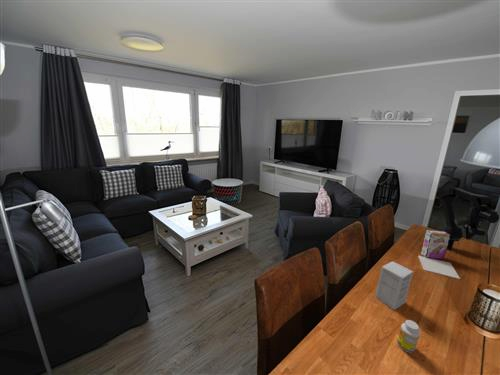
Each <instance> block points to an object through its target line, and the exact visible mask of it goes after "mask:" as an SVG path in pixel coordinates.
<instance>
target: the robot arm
mask: <svg viewBox="0 0 500 375" xmlns="http://www.w3.org/2000/svg"><path fill="white" fill-rule="evenodd" d="M457 197H460V198H464V199H466V200H468V201H469V203H471V204H468V206H469V207H470V210H469V214H467V215H466V216H465V217H456V215H455V211H454V206H453V205H454V202H455V200H456V198H457ZM437 198H438V201H439V203H440V204H441V205H442V207H443V213H444V219H445V223H446V227H445V228H444V232H446V233H448V234H450V238H449V242H448V246H447V250H449V251H455V249H454V244H455V242H459V241H460V240H461V239H462V238H463V229H464V230H465V239H466V240H470V239H472V238H473V237H474V236H482V237H486V235H487V232H486V231H485V230H484V229H482V228H481V227H482V226H481V222H483V221H485V222H488V223H490V224H495V223H498V221H499V220H500V215H499V214H498V211H496V210H494V206H493V202H492V200H491V197H490V196H488V195H483V194H477V193H476V194H475V193H472V192H469V191H468V190H464V189H462V188H459V187H451V188H449V189H446V190H443V191H441V192H439V193H438V194H437ZM458 226H459V227H458ZM460 226H462V228H463V229H462V228H461V227H460Z"/></svg>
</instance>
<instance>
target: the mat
mask: <svg viewBox="0 0 500 375" xmlns="http://www.w3.org/2000/svg"><path fill="white" fill-rule="evenodd" d="M417 257H418V259H419V261H420V264H421V266H422V269H423V270H424V271H426V272H428V273H429V272H430V273H433V274H438V275H441V276H445V277H450V278H453V279H457V280H461V277H460V276H459V274H458V273H457V271H456V270H455V267H454V265H452V263H451V262H448V261H444V260H441V259H439V260H438V259H436V258H426V257H424V256H423V255H418V256H417Z"/></svg>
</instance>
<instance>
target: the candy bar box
mask: <svg viewBox="0 0 500 375" xmlns="http://www.w3.org/2000/svg"><path fill="white" fill-rule="evenodd" d="M449 238H450V234H448V233H446V232H445V231H439V230H428V229H426V231H425V235H424V239H423V243H422V248H421V252H420V253H421V256H422V257H426V258H431V259H436V260H438V259H439V260H445V258H446V253H447V250H448V249H447V246H448V242H449Z"/></svg>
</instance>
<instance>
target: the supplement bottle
mask: <svg viewBox="0 0 500 375" xmlns="http://www.w3.org/2000/svg"><path fill="white" fill-rule="evenodd" d="M400 325H401V326H400V328H399V333H398V336H397V341H396V342H397V346H399V348H400V349H401V350H403V351H404V352H406V353H411V354H412V353H414V352H415V351H416V348H417V345H418V341H419V339H420V335H421V332H420V330H419V329H420V328H419V327H420V326H419V325H418V323H416V322H415V321H414V320H411V319H407V320H405V322H404V323H402V324H400Z"/></svg>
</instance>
